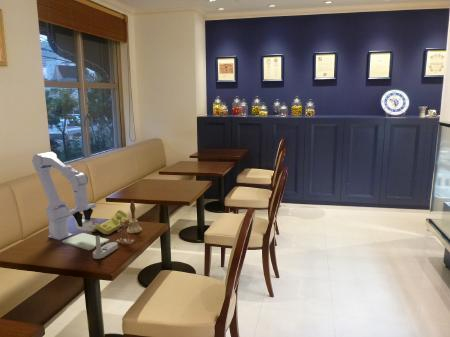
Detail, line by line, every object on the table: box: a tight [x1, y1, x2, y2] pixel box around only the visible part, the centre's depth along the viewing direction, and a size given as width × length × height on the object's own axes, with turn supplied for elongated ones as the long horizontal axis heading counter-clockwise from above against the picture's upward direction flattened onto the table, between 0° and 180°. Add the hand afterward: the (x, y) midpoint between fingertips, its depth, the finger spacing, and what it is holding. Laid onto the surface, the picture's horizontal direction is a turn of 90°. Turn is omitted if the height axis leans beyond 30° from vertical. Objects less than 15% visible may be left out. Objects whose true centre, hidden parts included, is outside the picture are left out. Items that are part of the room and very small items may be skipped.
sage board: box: [62, 232, 110, 251], centre depth 185 cm, size 20×12×1 cm, turn 58°
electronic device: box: [92, 235, 119, 260], centre depth 171 cm, size 5×10×15 cm
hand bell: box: [127, 200, 143, 234], centre depth 198 cm, size 8×8×16 cm
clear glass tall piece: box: [115, 219, 136, 246], centre depth 182 cm, size 9×4×12 cm, turn 69°
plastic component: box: [91, 209, 129, 235], centre depth 204 cm, size 20×7×10 cm
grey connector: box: [74, 218, 96, 232], centre depth 183 cm, size 13×4×4 cm, turn 58°
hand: (84, 225), depth 183 cm, fingers closed on grey connector, 4 cm apart
